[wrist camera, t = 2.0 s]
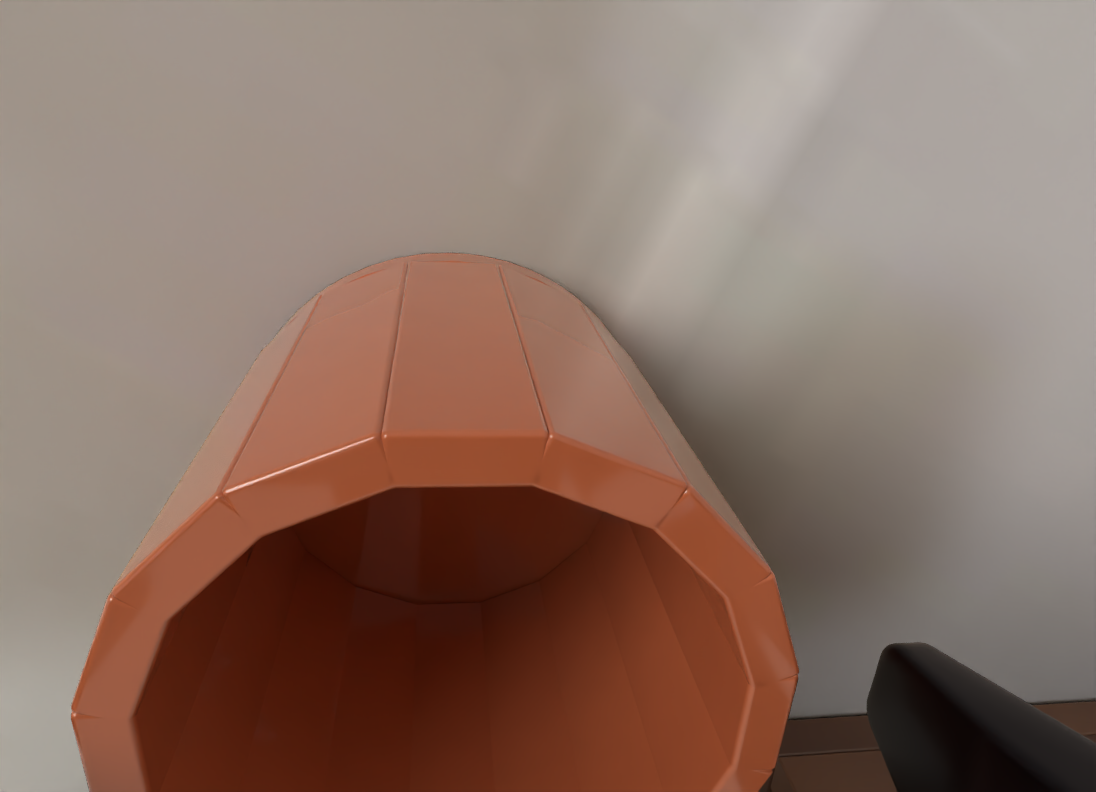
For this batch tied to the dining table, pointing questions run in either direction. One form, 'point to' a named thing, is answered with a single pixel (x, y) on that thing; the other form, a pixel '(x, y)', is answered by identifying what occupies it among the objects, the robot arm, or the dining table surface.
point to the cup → (440, 569)
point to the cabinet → (866, 752)
